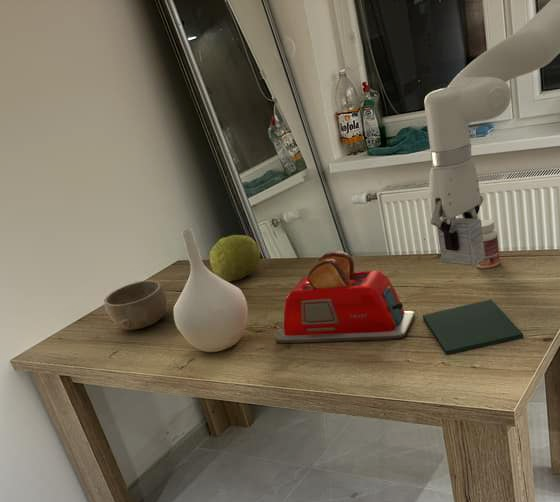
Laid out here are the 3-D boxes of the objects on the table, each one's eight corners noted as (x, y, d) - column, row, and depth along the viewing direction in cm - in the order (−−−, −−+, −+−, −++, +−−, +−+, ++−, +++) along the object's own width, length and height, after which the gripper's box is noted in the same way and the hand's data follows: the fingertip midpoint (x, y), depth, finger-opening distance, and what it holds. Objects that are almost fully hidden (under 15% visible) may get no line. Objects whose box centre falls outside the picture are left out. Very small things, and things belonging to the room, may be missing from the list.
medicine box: (486, 259, 140) (482, 218, 136) (473, 267, 138) (469, 226, 134) (453, 256, 146) (449, 216, 142) (441, 263, 144) (436, 224, 140)
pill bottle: (504, 262, 176) (501, 220, 171) (486, 270, 175) (482, 228, 170) (488, 258, 182) (484, 217, 177) (470, 266, 180) (466, 224, 175)
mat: (491, 303, 157) (490, 299, 157) (523, 337, 139) (523, 333, 139) (423, 318, 158) (422, 315, 157) (446, 355, 140) (445, 351, 140)
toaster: (416, 314, 161) (405, 239, 152) (404, 339, 151) (391, 260, 142) (292, 321, 174) (276, 251, 166) (274, 344, 164) (255, 271, 156)
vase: (230, 362, 161) (195, 242, 147) (171, 359, 170) (132, 246, 157) (268, 327, 174) (239, 214, 161) (211, 326, 184) (179, 220, 170)
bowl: (137, 340, 187) (125, 307, 183) (102, 332, 200) (90, 300, 195) (184, 313, 198) (173, 281, 193) (148, 307, 210) (137, 277, 205)
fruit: (232, 267, 226) (244, 225, 219) (262, 286, 218) (275, 243, 211) (196, 271, 214) (206, 226, 207) (225, 291, 207) (238, 245, 200)
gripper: (465, 143, 139) (474, 229, 147) (406, 169, 131) (419, 257, 139) (495, 143, 133) (503, 232, 141) (435, 169, 125) (447, 262, 134)
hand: (461, 244), depth 140 cm, fingers closed on medicine box, 4 cm apart
